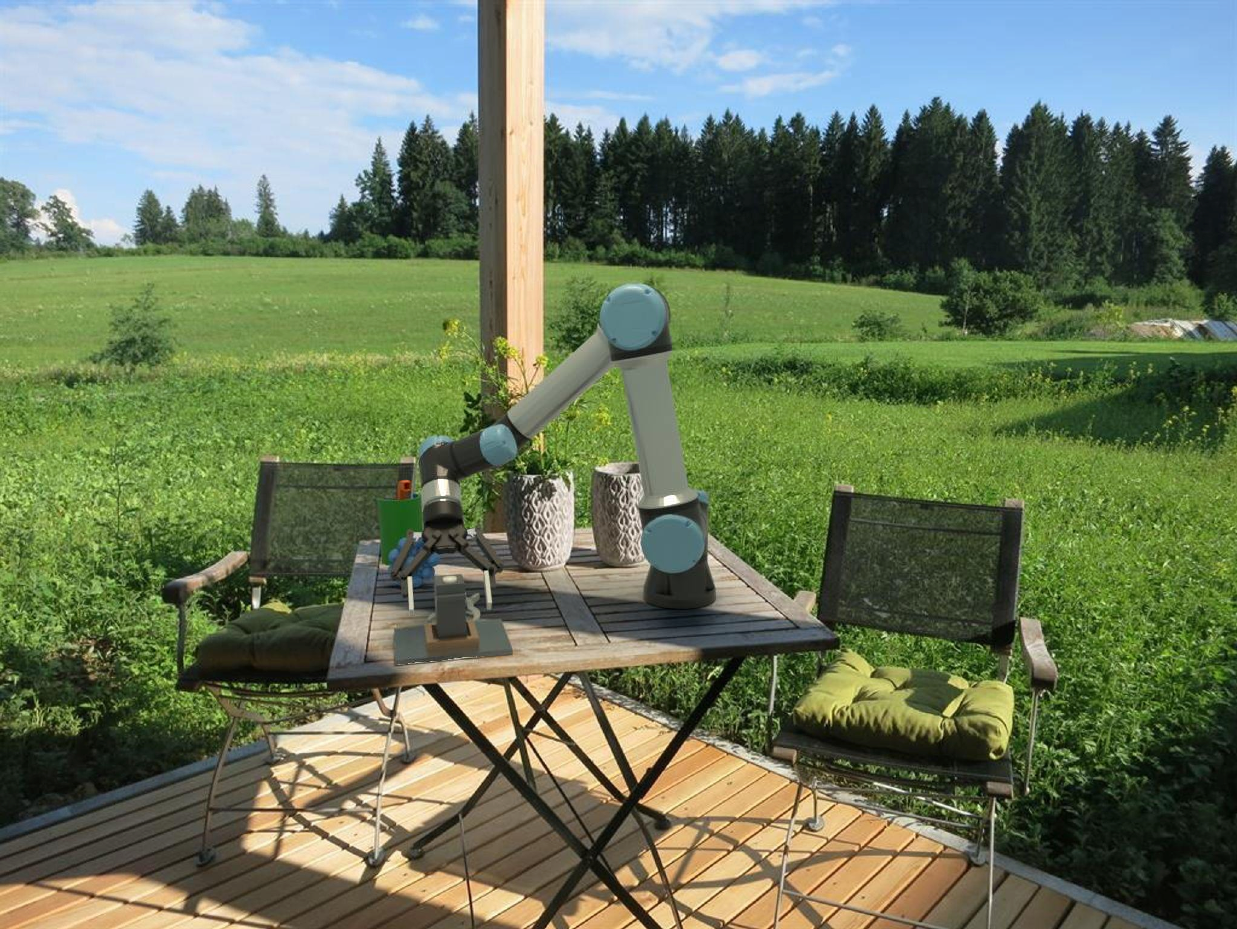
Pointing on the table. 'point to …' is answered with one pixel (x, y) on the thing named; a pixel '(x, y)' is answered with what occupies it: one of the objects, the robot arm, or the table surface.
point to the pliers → (470, 607)
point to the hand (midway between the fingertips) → (450, 609)
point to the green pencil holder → (398, 519)
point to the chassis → (451, 642)
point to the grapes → (426, 568)
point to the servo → (450, 606)
